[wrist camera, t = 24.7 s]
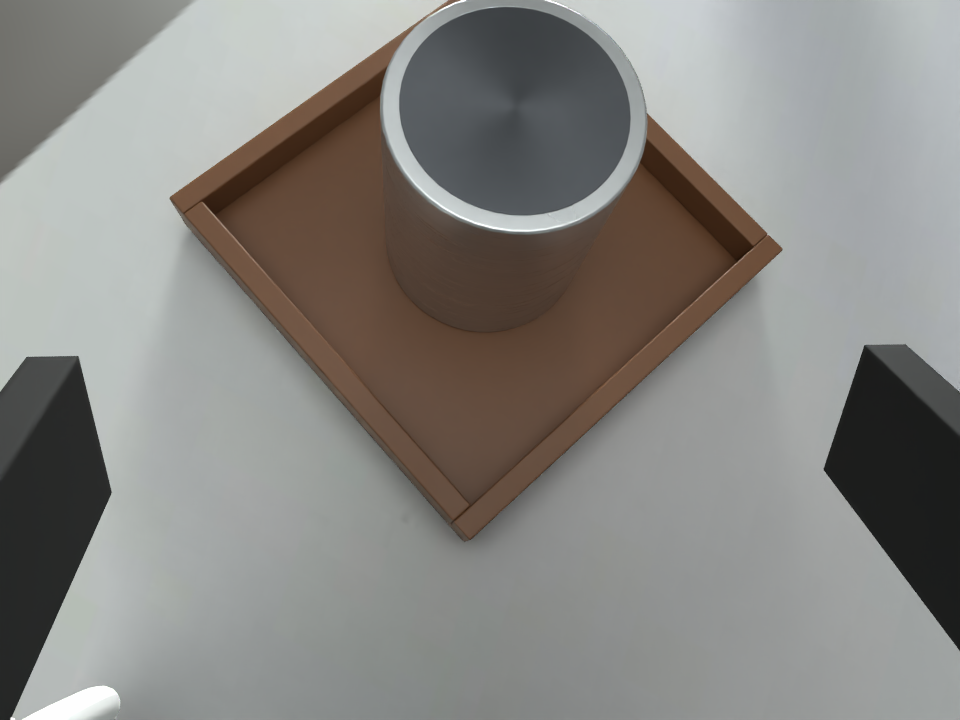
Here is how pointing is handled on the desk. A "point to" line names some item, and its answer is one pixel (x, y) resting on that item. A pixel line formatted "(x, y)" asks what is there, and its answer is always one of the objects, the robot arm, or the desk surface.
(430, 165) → the silver cup
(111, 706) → the cup
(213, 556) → the desk surface
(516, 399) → the tray
